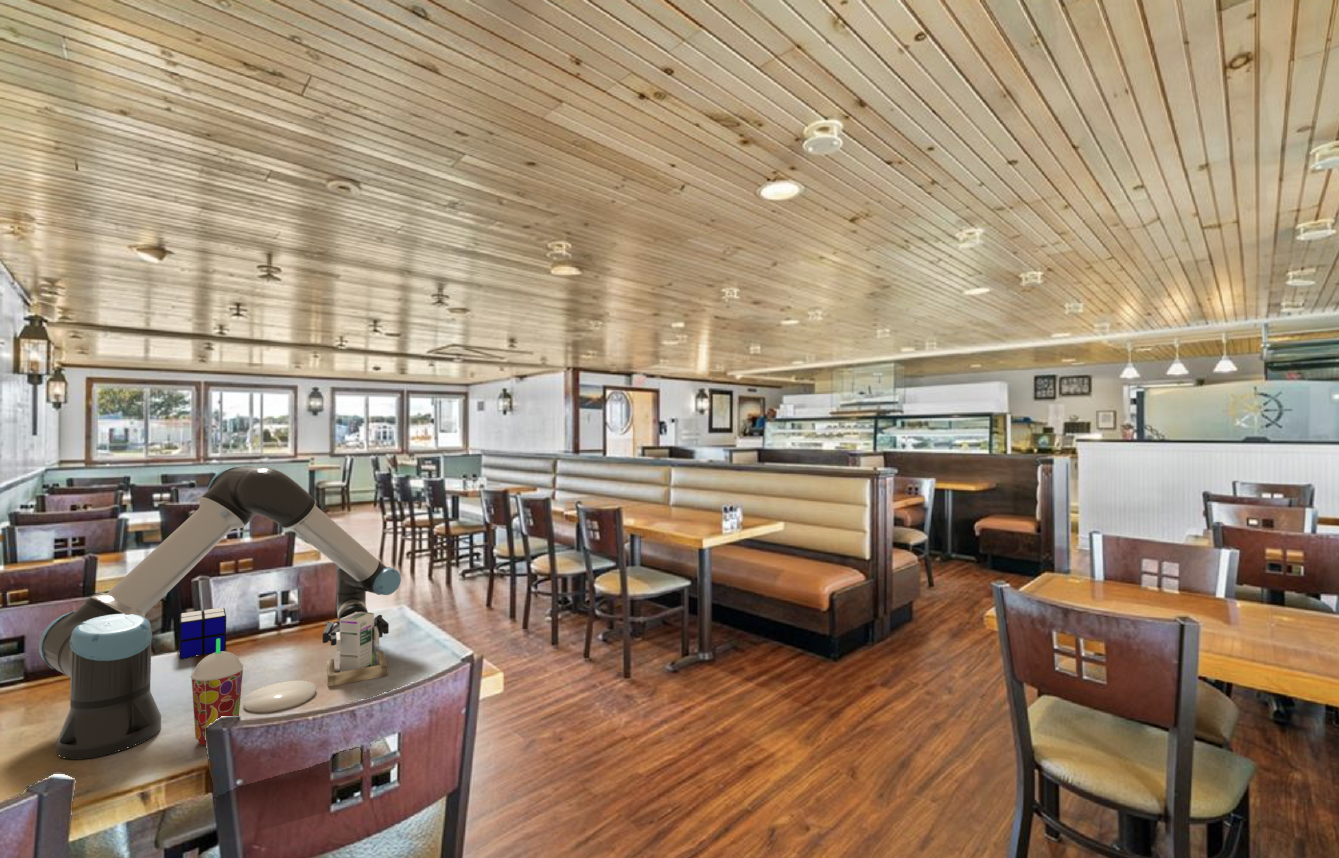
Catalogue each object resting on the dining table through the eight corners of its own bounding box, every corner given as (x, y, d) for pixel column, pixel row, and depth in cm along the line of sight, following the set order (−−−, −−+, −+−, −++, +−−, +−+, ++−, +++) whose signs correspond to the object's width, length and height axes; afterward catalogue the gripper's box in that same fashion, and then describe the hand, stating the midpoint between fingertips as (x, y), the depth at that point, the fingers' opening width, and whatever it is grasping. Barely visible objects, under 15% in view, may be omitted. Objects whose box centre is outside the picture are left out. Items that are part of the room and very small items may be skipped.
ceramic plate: (239, 718, 127) (239, 713, 127) (246, 692, 139) (246, 688, 139) (315, 703, 134) (315, 699, 134) (315, 680, 146) (315, 676, 146)
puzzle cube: (179, 660, 158) (179, 622, 158) (179, 649, 166) (179, 613, 166) (226, 651, 164) (226, 615, 164) (224, 641, 172) (224, 606, 172)
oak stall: (327, 686, 143) (328, 676, 143) (327, 669, 153) (327, 660, 153) (387, 675, 150) (387, 665, 150) (382, 660, 159) (383, 651, 159)
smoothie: (201, 731, 121) (202, 633, 121) (249, 725, 124) (250, 630, 124) (181, 753, 113) (183, 648, 113) (233, 746, 116) (234, 644, 116)
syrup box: (358, 677, 148) (359, 619, 148) (338, 675, 150) (339, 617, 150) (374, 668, 154) (375, 612, 154) (354, 666, 155) (355, 610, 155)
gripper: (393, 624, 173) (403, 650, 153) (310, 636, 162) (309, 665, 142) (393, 598, 173) (403, 620, 153) (310, 609, 162) (309, 634, 142)
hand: (358, 642), depth 148 cm, fingers closed on syrup box, 8 cm apart
